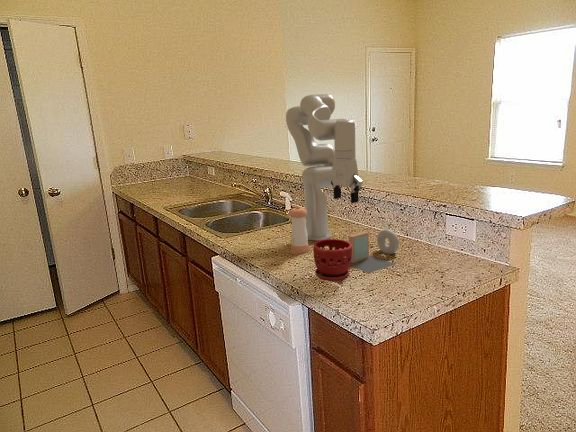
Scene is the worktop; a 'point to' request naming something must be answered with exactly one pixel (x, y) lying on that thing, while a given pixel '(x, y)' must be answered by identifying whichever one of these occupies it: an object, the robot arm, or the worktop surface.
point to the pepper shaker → (299, 231)
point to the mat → (371, 264)
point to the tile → (359, 246)
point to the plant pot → (332, 259)
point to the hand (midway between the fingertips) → (345, 200)
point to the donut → (392, 239)
